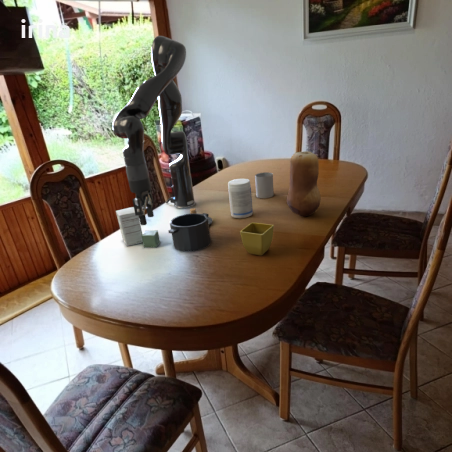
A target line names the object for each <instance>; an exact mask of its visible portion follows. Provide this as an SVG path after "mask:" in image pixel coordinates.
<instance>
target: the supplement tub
mask: <svg viewBox="0 0 452 452" xmlns="http://www.w3.org/2000/svg"><path fill="white" fill-rule="evenodd" d="M227 191H228V200H229V201H228V202H229V209H230V210H229V211H230V216H231V217H232V218H234V219H246V218H249V217H251V216H253V213H254V211H253V198H252V197H253V196H252V195H253V194H252V185H251V180H250V179H248V178H235V179H231V180H229V181H228V182H227Z"/></svg>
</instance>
